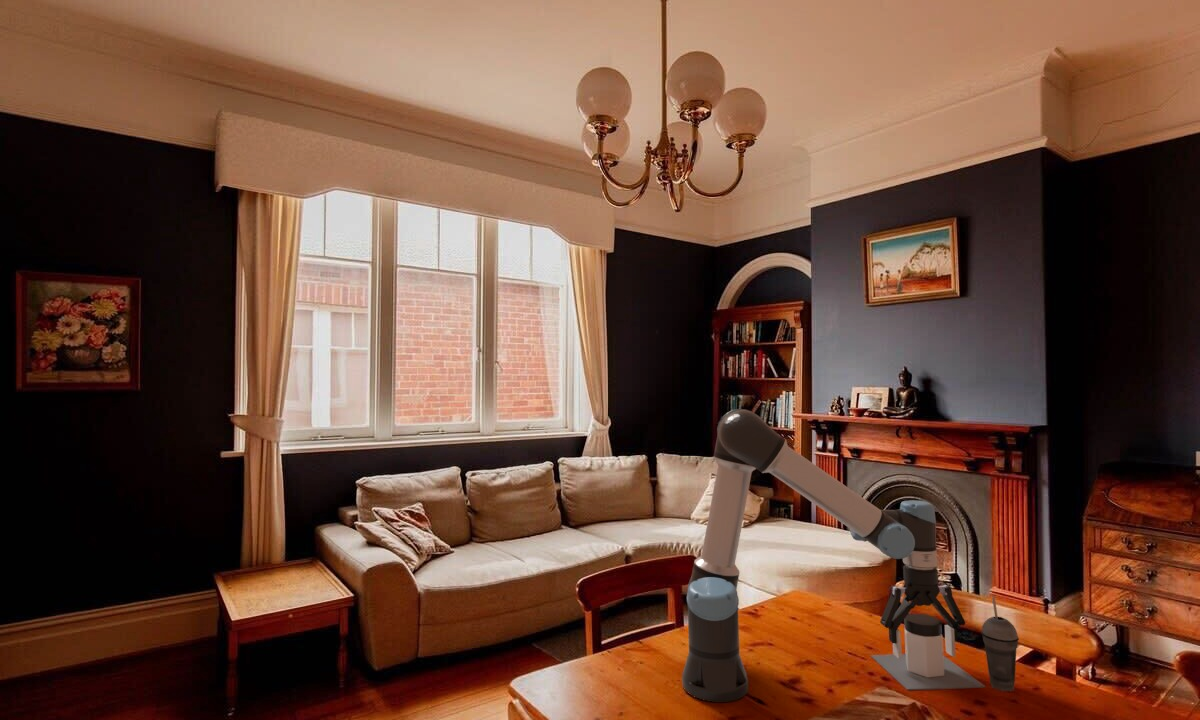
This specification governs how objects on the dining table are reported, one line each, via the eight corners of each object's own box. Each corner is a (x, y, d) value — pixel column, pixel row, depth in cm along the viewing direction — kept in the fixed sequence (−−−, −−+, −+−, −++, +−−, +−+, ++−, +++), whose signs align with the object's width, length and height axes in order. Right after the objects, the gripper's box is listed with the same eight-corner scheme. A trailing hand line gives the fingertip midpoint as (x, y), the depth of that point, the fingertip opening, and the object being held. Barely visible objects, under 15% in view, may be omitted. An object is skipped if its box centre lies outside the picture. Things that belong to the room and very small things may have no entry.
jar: (951, 670, 150) (949, 620, 151) (936, 681, 145) (934, 629, 146) (913, 658, 157) (911, 610, 158) (898, 668, 152) (896, 618, 153)
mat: (907, 690, 142) (907, 689, 142) (870, 656, 160) (870, 655, 160) (985, 687, 143) (985, 686, 143) (939, 654, 161) (939, 652, 161)
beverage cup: (1003, 696, 138) (999, 605, 139) (975, 682, 145) (971, 594, 146) (1029, 691, 140) (1024, 601, 141) (1000, 677, 147) (996, 591, 148)
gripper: (877, 571, 148) (881, 663, 147) (979, 568, 149) (983, 660, 148) (863, 562, 156) (866, 650, 155) (960, 560, 157) (964, 647, 156)
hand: (924, 655), depth 152 cm, fingers open, 12 cm apart
